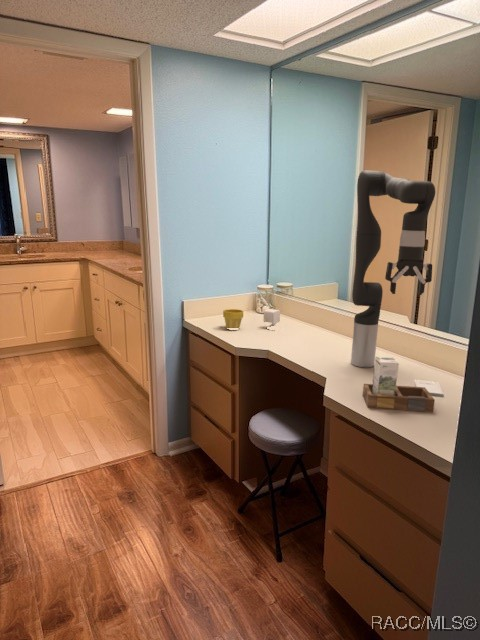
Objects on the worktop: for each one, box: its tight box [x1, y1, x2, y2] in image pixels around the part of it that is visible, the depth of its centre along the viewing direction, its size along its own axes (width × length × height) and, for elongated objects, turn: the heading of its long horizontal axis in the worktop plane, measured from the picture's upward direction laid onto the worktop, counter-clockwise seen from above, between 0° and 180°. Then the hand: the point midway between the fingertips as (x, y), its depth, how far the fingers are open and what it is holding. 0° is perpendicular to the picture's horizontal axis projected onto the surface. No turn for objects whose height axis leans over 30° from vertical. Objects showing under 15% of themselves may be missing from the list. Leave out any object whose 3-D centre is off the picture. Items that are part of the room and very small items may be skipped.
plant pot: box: [222, 308, 244, 329], centre depth 234 cm, size 10×10×10 cm
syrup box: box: [371, 356, 400, 396], centre depth 143 cm, size 6×6×14 cm
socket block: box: [362, 383, 436, 413], centre depth 144 cm, size 11×20×4 cm, turn 83°
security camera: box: [263, 308, 281, 327], centre depth 236 cm, size 6×7×10 cm
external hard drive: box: [414, 379, 445, 398], centre depth 157 cm, size 2×8×12 cm
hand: (406, 294), depth 150 cm, fingers open, 8 cm apart
